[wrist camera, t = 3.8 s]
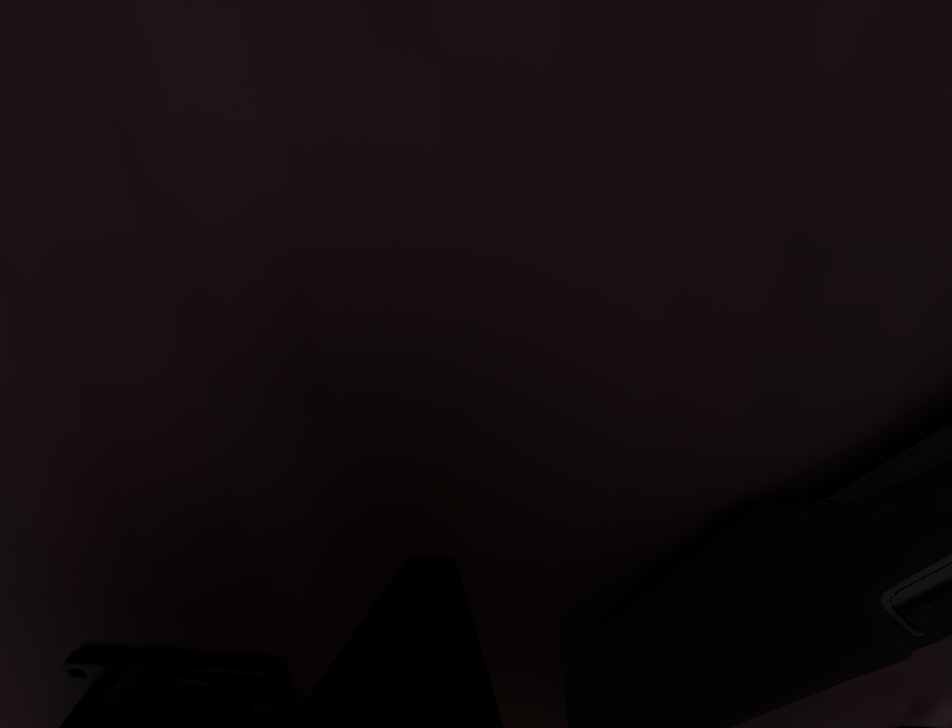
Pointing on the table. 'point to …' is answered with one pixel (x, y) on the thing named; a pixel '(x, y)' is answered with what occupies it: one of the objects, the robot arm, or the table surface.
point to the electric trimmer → (782, 605)
